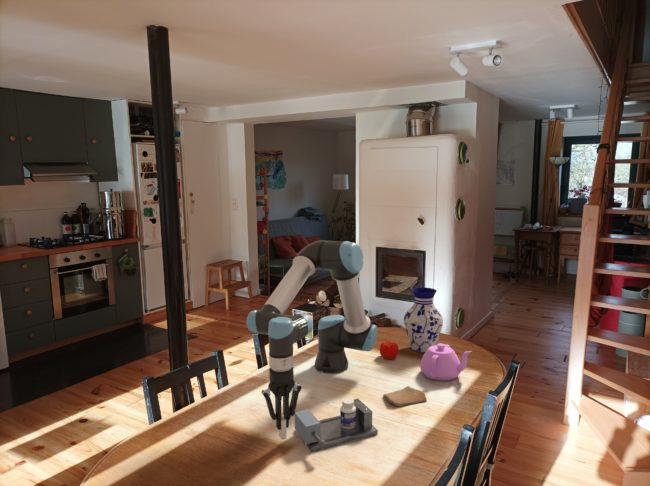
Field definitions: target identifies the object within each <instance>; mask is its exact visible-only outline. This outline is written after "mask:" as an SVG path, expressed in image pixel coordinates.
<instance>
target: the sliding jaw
mask: <svg viewBox="0 0 650 486" xmlns="http://www.w3.org/2000/svg"><path fill="white" fill-rule="evenodd" d="M319 421H320V420H318V419H317V417H316V416H315V415H314V414H313V413H312V411H311V410H310V409H309V408H308V409H302V410H299V411H295V414H294V430H295V432H296V431H297V432H296V434H298V436H299V435H300V436H299V437H300V438H302V439H303V440H302V439H301V440H302V441H303V443H304V442H305V443H306V444H310V443H314V442H318V445H319V447H321V448H323V447H324V446H325V441H324V440H321V423H320V422H319ZM305 443H304V444H305ZM306 444H305V445H306Z"/></svg>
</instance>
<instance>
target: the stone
mask: <svg viewBox="0 0 650 486" xmlns="http://www.w3.org/2000/svg"><path fill="white" fill-rule="evenodd" d="M383 397H384V399H385V400H387V402H388V403H389V404H393V405H395V406H397V407H404V406H408V405H412V404H417V403H422V402H427V400H428V398H427V397H426V393H425V392H424V391H423V390H419V389H415V388H413V387H411V386H405V387H404V388H402V389H399V390H396V391H392V392H389V393H384V394H383Z"/></svg>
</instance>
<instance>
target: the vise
mask: <svg viewBox="0 0 650 486" xmlns="http://www.w3.org/2000/svg"><path fill="white" fill-rule="evenodd" d="M353 400H354V406H355V407H356V426H355V427H354V428H351V429H346V428H343V427H342V426H341V418H340V415H337V416H333V417H329V418H325V419H324V418H323V419H320V420H318V421H319V422H320V423H321V440H324V441H325V446H324V447H323V448H321V447H319V445H318V442H314V443H310V444H306V443H305V442H304V441H303V439H302V438H301V437H300V435H299V434H298V436H299V437H300V438H301V440H302V441H303V443H304V444H305V445H306V447H308V449H309V451H310V452H311V453H314V452H317V451H321V450H322V451H323V450H325V449H329V448H332V447H337V446H340V445H344V444H348V443H350V442H355V441H358V440H361V439H366V438H369V437H373V436H377V435H378V434H379V431H378V429H377V428H376V427H375V426H374V425H373V410H371V408H369V407H368V406H367V405H366V404H365V403H364V402H362V401H361V400H360V399H359V398H354V399H353ZM295 432H296V433H297V431H296V430H295Z"/></svg>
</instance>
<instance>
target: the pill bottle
mask: <svg viewBox="0 0 650 486" xmlns="http://www.w3.org/2000/svg"><path fill="white" fill-rule="evenodd" d="M341 404H342V405H341V406H340V414H339V416H340V418H341V426H342V427H343V428H346V429H351V428H354V427H355V426H356V407H355V406H354V399H353V398H351V397H347V398H343V399H342V401H341Z"/></svg>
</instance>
